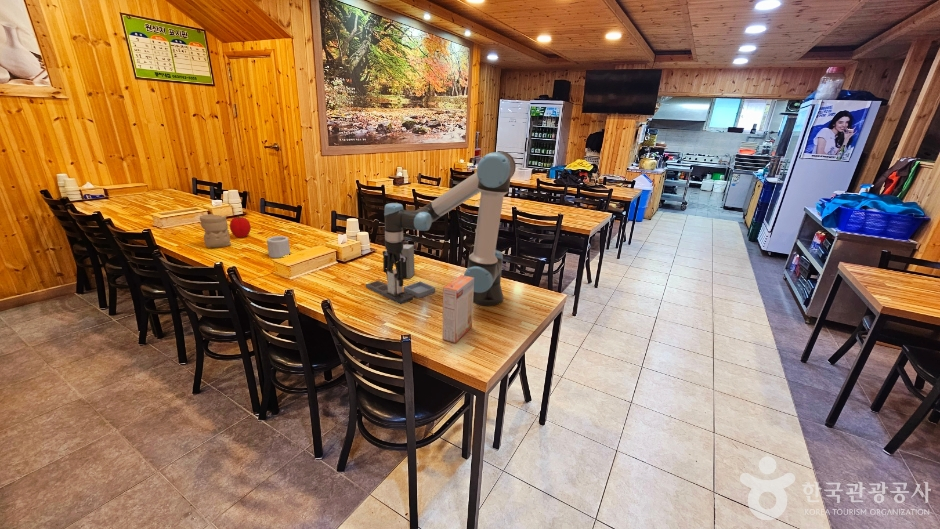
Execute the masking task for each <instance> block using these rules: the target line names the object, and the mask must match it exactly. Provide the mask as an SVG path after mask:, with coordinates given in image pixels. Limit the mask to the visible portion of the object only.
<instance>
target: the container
mask: <svg viewBox="0 0 940 529" xmlns="http://www.w3.org/2000/svg"><path fill="white" fill-rule="evenodd" d="M199 221H200V227H201V228H202V229H203V230H204V231H203V232H204V234H203V241H204V246H206V247H207V248H225V247H228V246H231V245H232V243H231V237H230V232H229V226H228V220H227V216H226V215H224V216H222V215H217V214H213V213H209V214H208V213H207V214H203V215H200V216H199Z"/></svg>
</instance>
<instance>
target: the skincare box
mask: <svg viewBox="0 0 940 529" xmlns="http://www.w3.org/2000/svg"><path fill="white" fill-rule="evenodd" d="M402 256H403V257H407V261H406V269H407V278H406V279H408V280H410V279H411V278H412V277H413V276H414V275H415V272H416V271H415V245H414V244H404V243H403V249H402ZM398 262H399V261H398Z"/></svg>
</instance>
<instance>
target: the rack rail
mask: <svg viewBox="0 0 940 529" xmlns="http://www.w3.org/2000/svg"><path fill="white" fill-rule="evenodd" d="M365 288H367V289H369V291H373V292H375V293H377V294H379V295H381V296H383V297H385V298H387V299H388V300H391V301H392V302H395V303H397V304H399V305H403V304H406V303H408V302H410V301H413V300H414V296H412V295H409V294H407V293H405V292H404V291H403V294H401V295H398V296H396V297H393V296H391V295H389V294H388V283H384V282H383V281H380V280H375V281H373V282H372V281H371V282H369V283H365Z"/></svg>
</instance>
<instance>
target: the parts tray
mask: <svg viewBox="0 0 940 529" xmlns="http://www.w3.org/2000/svg"><path fill="white" fill-rule="evenodd" d="M403 292H405V293H407V294H409V295H411V296H413V298H416V299H418V300H420V299H422V298H425V297H426V296H430V295H432V294H436V287H435V286H433V285H430V284H428V283H425V282H423V281H421V280H420V281H417V282H413V283H412V284H411V283H410V284H409V285H406V286H403Z"/></svg>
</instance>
